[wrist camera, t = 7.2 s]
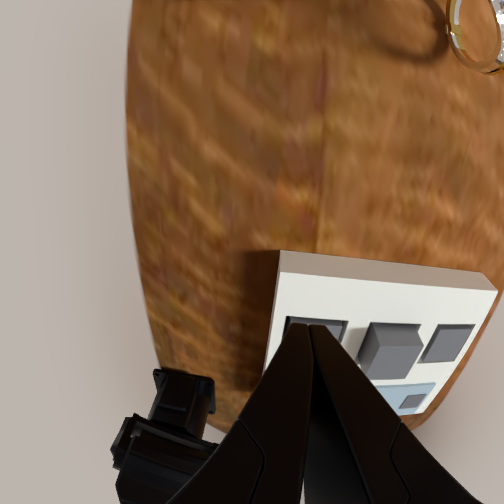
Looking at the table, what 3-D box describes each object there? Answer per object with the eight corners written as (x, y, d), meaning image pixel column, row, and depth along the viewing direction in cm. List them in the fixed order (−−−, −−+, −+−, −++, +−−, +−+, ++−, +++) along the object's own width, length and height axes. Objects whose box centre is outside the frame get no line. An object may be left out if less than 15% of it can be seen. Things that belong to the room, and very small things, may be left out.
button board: (415, 392, 27) (423, 415, 24) (259, 390, 28) (256, 417, 25) (481, 272, 20) (500, 293, 17) (280, 249, 21) (280, 275, 18)
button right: (443, 339, 23) (453, 360, 20) (413, 340, 23) (422, 362, 20) (458, 309, 21) (471, 329, 19) (428, 308, 21) (440, 329, 19)
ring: (424, -15, 11) (482, -53, 3) (461, -1, 10) (524, -27, 3) (433, 68, 14) (507, 58, 7) (469, 80, 13) (545, 81, 6)
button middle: (396, 354, 21) (404, 379, 19) (357, 353, 22) (363, 380, 19) (412, 321, 20) (424, 345, 17) (371, 319, 20) (380, 345, 17)
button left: (326, 337, 23) (330, 361, 21) (283, 333, 23) (283, 358, 21) (336, 302, 22) (342, 326, 19) (290, 298, 22) (291, 322, 19)
